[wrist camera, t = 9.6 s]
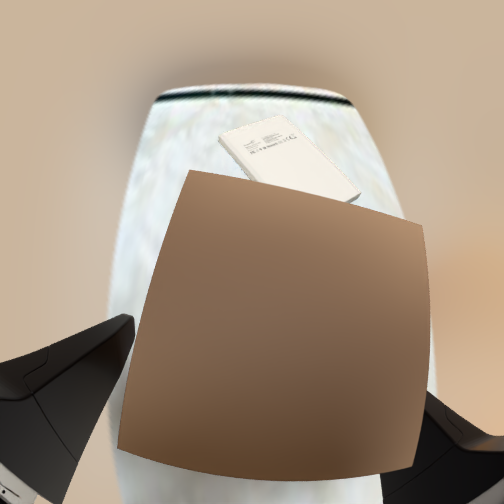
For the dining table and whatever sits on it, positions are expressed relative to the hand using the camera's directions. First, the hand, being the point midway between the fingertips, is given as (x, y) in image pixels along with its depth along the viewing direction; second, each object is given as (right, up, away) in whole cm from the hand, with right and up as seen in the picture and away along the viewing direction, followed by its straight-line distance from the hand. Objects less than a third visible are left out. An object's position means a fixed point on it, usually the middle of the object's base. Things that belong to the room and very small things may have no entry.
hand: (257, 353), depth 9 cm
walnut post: (-1, -3, +8) cm, 8 cm away
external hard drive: (+3, +11, +17) cm, 20 cm away
